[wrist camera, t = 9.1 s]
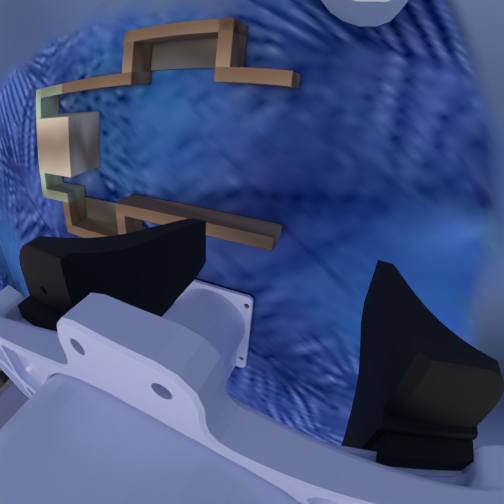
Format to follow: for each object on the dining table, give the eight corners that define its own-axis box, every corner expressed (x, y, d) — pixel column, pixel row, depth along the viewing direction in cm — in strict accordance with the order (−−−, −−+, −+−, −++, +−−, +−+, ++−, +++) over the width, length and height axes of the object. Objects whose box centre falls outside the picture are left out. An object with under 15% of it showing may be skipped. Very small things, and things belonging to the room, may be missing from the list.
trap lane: (275, 275, 25) (266, 291, 23) (63, 217, 32) (48, 225, 30) (305, 28, 16) (297, 18, 14) (55, 57, 23) (37, 58, 21)
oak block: (101, 166, 27) (71, 177, 23) (68, 162, 28) (40, 172, 25) (100, 111, 24) (68, 116, 21) (66, 113, 26) (37, 119, 22)
